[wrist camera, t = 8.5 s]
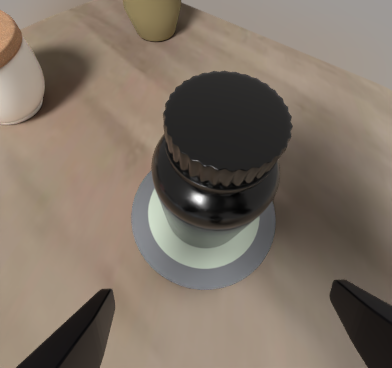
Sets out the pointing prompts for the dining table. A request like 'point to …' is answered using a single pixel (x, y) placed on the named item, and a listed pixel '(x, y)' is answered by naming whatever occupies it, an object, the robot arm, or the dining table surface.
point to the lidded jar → (18, 75)
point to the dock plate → (192, 256)
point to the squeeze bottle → (153, 17)
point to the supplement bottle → (219, 155)
